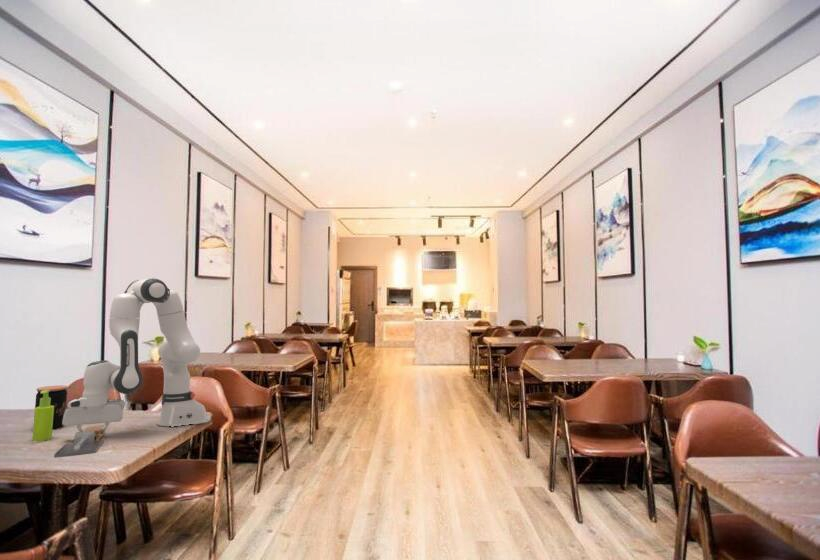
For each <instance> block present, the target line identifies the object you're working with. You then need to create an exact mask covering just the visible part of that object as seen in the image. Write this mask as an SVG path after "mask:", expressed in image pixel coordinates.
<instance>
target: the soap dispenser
mask: <svg viewBox="0 0 820 560" xmlns="http://www.w3.org/2000/svg"><path fill="white" fill-rule="evenodd" d="M49 391H50V390H42V391H41V392H40V394H43V398H41V399H40V405H39V407H36V408H35V407H34V415H35V416H34V417H33V427H32V428H33V431H32V442H33V441H41V442H46V441H49V439H50V440H52V436H53V430H52V426H53V414H54V406H52V405H50V402H51V398H50V397H48V394H49ZM45 440H46V441H45Z"/></svg>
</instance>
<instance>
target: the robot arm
mask: <svg viewBox="0 0 820 560" xmlns="http://www.w3.org/2000/svg"><path fill="white" fill-rule="evenodd" d="M149 303H152V304H153V306H154V308H155V309H156V315H157V319H158V324H159V329H160V332H161V334H162V335H164V338H165V339H166V341H163V342H162V343H161V344H160V345H159V347H158V349H157V353H158V356H159V358H160V359H161V361H160V362H161V365H162V372H163V393H162V394H161V403H160V404H161V411H160V415H159V418H158V421H157V425H158V426H161V427H169V426H171V427H170V428H175V427H174V426H178V427H182V426H181V425H185V426H190V425H189V424H193V425H198V424H205V423H209V422H210V421H212V418H211V415H209V414H207V409H206V407H205V406H204V404H203V403H201V402H199V401H198V400H196V399H195V396H196V394H195V392H193V391H190V390H191V389H190V387H191V374H190V371H189V370H188V366H187V365H188V364H190V363H194V362H195V361H197V360H198V359H199V357H200V355H201V348H200V346H199V345H198V344H197V343H196V341H195V340H194V338H193V336H192V334H191V332H190V330H189V327H188V323H187V320H186V316H185V311H184V307H183V303H182V300H181V297H180V295H179V294H178V292H177V291H176V290H174V289H169V287H168V286H167V285H166V283H165V282H164V281H163V280H161V279H159V278H142V279H137V280H134V281H131V282H130V284H128V286H127V287H126V290H125V291H124V293H123V292H122V293H119V294H117V295H115V296H114V297H113V299H112V302H111V306H110V310H109V311H110V312H109V324H108V325H109V331H110V332H109V333H110V335H111V336H112V337H113V338H114V339H115V341H116V343H118V344H117V345H118V346H119V351H120V352H119V354H120V356H119V364H118V365H117V364H115V363H112V362H110V361H109V360H96V361H93V362H90V363H88V365H86V366H85V370H84V374H83V391H82V396H80V397H78V398H75V399H72V400H70V401H69V402H68V403H66V411H65V412H64V416H63V421H62V424H63V427H73V426H76V429H77V431H78V432H83V431H84V430H85V429H84V430H83V428H82V427H83V425H95V424H104V429H101V434H103V435H104V434H105V435H106V434H107V433H106V432H107V428H108V427H109V426H110V423H116V422H118V423H119V422H121V421H122V420H123V419H124V408H125V407H126V402H125V401H124V399H121V398H117V399H116V398H114V399H113V398H111V399H110V398H109V395H110V390H115V391H117V392H118V393H120V394H123V395H130V394H133V393H135V392H137V390H139V389H140V388H141V386H142V384H143V380H144V378H143V374H142V373H141V371H140V368H139V367H140V366H139V333H140V331H139V330H140V322H141V318H140V317H141V310H142V307H143V306H144V304H149Z"/></svg>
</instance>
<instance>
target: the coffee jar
mask: <svg viewBox="0 0 820 560" xmlns="http://www.w3.org/2000/svg"><path fill="white" fill-rule="evenodd" d="M67 389H68V386H67V385H47V386H41V387H37V388H36V391H37V393H36V394H35V406H34V409H35V408H36V407H39V405H40V399H41V398H43V394H40V392H41V391H42V390H50V391H49V394H48V397H50V398H51V402H50V405H52V406H54V414H53V426H52V429H54V430H57V428H58V429H61V428H63V427H64V425H63V424H62V421H63V416H64V412H65V411H66V409H67V398H68V391H67ZM34 416H35V414H34ZM62 426H63V427H62ZM60 427H61V428H60Z"/></svg>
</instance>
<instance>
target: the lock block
mask: <svg viewBox="0 0 820 560" xmlns="http://www.w3.org/2000/svg"><path fill="white" fill-rule="evenodd" d="M104 428H105V424H104V425H92V426H87V427H86V428H84V431H95V441H97V440H101V438H102V437H103V436H104V434H101V429H104ZM84 431H83V432H84Z"/></svg>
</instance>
